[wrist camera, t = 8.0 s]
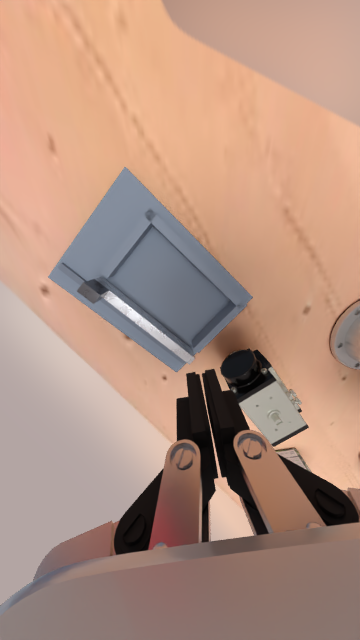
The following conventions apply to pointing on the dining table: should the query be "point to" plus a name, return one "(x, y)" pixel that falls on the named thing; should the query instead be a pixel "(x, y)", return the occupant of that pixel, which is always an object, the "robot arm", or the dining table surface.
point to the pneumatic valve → (263, 395)
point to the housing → (151, 271)
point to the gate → (134, 315)
